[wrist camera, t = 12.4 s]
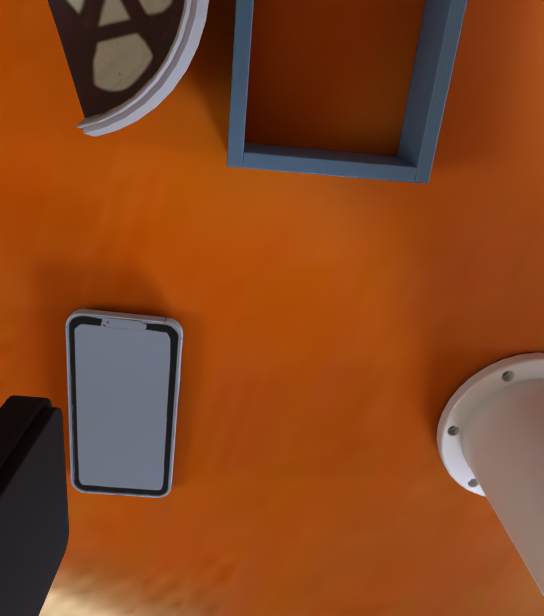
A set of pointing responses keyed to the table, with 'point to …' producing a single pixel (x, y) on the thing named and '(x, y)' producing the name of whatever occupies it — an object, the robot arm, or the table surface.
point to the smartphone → (122, 401)
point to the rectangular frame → (405, 167)
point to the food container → (126, 54)
